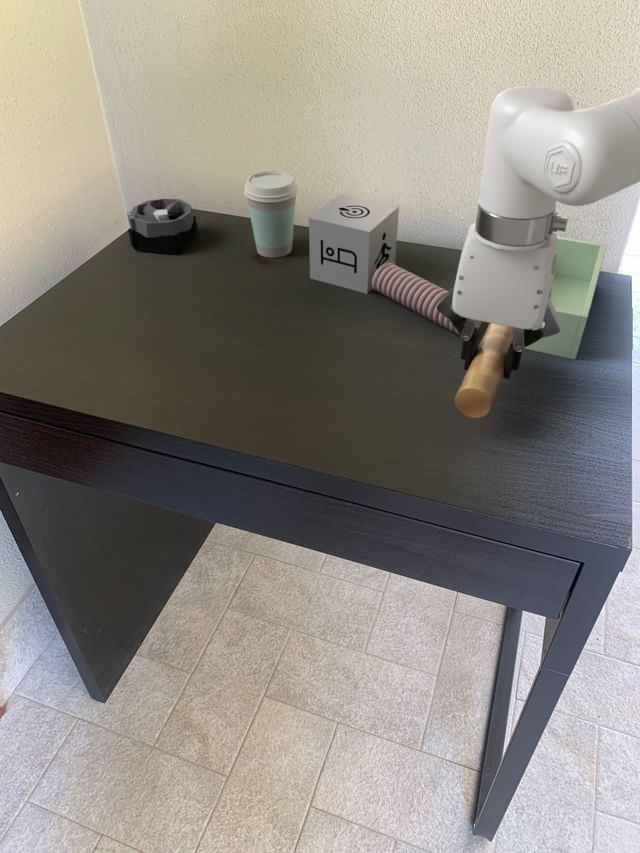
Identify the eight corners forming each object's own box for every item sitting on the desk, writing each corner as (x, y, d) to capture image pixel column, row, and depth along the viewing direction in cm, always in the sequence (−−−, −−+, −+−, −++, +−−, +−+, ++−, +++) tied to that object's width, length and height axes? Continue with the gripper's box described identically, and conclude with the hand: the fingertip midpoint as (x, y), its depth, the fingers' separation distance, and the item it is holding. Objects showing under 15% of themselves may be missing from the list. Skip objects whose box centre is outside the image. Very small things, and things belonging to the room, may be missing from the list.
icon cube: (310, 278, 107) (308, 217, 101) (340, 252, 114) (340, 193, 107) (367, 294, 103) (369, 232, 97) (395, 265, 110) (399, 206, 103)
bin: (595, 284, 105) (606, 244, 101) (575, 359, 90) (587, 317, 86) (519, 270, 109) (527, 231, 104) (488, 340, 94) (496, 298, 89)
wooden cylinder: (495, 349, 88) (482, 323, 87) (524, 340, 86) (511, 313, 84) (464, 421, 77) (448, 393, 76) (496, 413, 75) (481, 384, 73)
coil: (369, 268, 100) (464, 317, 90) (391, 255, 102) (487, 302, 92) (370, 295, 104) (462, 345, 93) (391, 282, 106) (484, 329, 95)
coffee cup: (307, 243, 116) (306, 173, 108) (286, 265, 110) (283, 193, 102) (262, 235, 119) (257, 165, 111) (239, 256, 113) (233, 185, 105)
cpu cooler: (200, 199, 116) (177, 225, 109) (204, 231, 120) (183, 257, 113) (143, 194, 118) (118, 219, 111) (149, 226, 122) (125, 251, 114)
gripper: (603, 219, 70) (565, 366, 82) (443, 197, 75) (430, 338, 87) (594, 250, 65) (555, 402, 76) (423, 224, 70) (412, 370, 82)
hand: (489, 367), depth 81 cm, fingers closed on wooden cylinder, 4 cm apart
